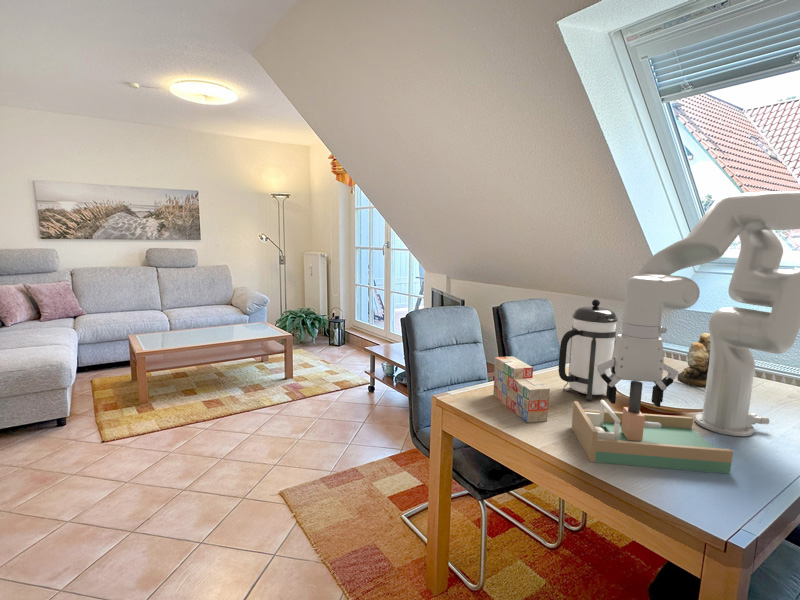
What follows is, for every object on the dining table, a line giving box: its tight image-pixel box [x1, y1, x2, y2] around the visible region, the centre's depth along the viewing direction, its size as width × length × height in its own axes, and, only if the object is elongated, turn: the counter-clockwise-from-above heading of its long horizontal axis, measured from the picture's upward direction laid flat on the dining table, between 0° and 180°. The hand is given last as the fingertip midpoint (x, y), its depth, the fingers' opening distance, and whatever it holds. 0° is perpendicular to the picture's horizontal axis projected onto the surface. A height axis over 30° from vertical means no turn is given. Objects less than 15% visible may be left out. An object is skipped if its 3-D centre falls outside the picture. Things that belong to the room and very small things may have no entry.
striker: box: [621, 380, 661, 441], centre depth 103 cm, size 8×5×13 cm, turn 81°
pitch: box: [571, 399, 734, 475], centre depth 104 cm, size 28×18×9 cm, turn 81°
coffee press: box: [558, 299, 619, 402], centre depth 137 cm, size 17×16×30 cm
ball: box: [594, 426, 605, 432], centre depth 106 cm, size 4×4×4 cm
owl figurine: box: [676, 332, 710, 388], centre depth 154 cm, size 18×12×17 cm, turn 135°
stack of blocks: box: [492, 356, 551, 423], centre depth 128 cm, size 21×6×12 cm, turn 13°
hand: (633, 403), depth 103 cm, fingers open, 9 cm apart
